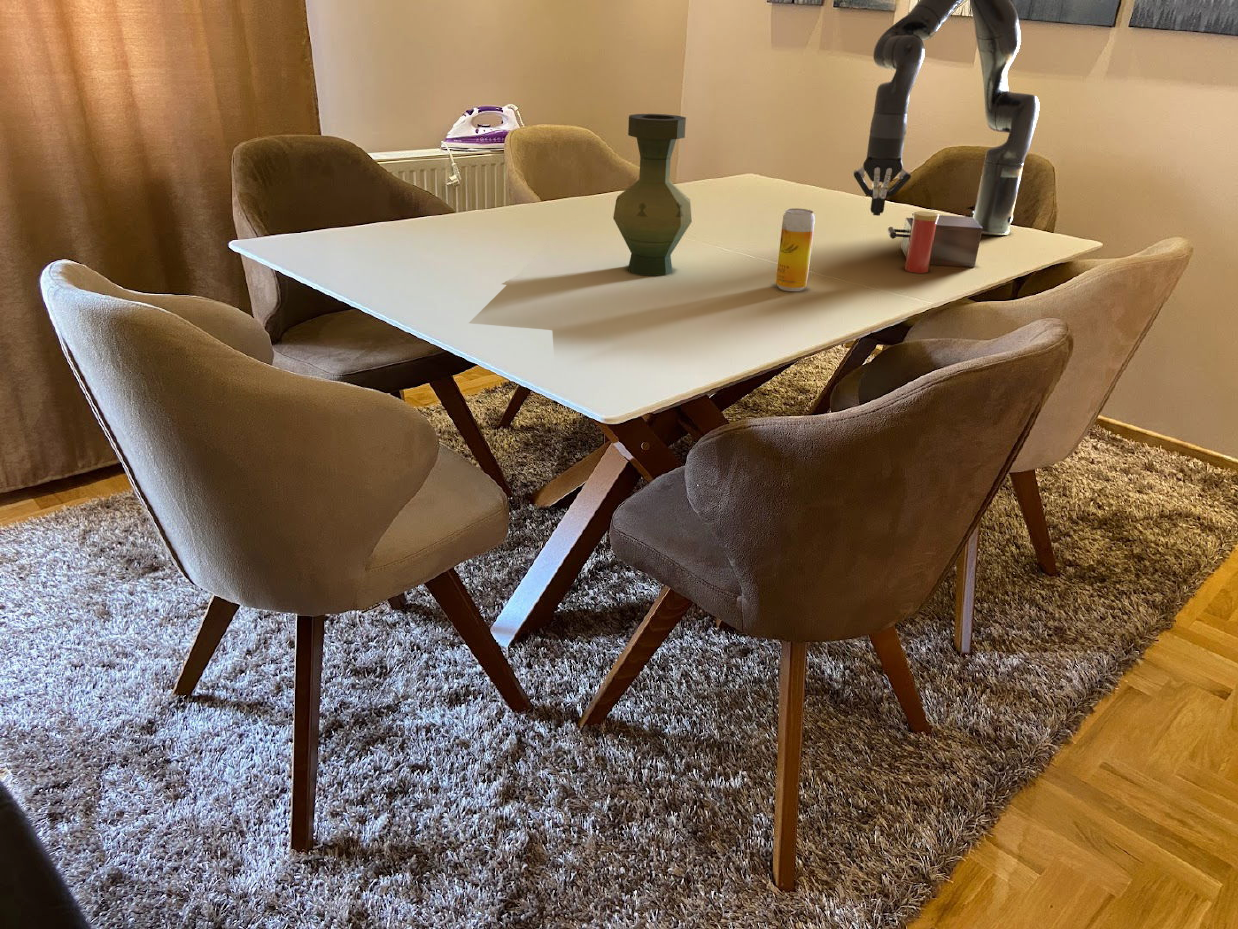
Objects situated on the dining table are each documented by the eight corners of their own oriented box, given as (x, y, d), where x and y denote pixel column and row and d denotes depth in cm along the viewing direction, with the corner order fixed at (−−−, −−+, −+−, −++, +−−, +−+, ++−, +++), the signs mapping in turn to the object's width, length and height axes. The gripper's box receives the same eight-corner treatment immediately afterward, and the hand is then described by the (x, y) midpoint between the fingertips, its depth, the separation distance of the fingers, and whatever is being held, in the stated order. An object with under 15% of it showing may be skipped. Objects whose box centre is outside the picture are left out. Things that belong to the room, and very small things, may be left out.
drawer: (888, 256, 206) (893, 225, 203) (883, 245, 215) (888, 216, 212) (964, 261, 204) (970, 230, 201) (956, 250, 213) (962, 221, 210)
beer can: (772, 283, 186) (780, 207, 179) (801, 283, 186) (811, 208, 180) (779, 291, 180) (788, 214, 174) (809, 292, 181) (819, 214, 174)
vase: (697, 265, 197) (708, 115, 183) (677, 283, 183) (687, 124, 170) (625, 256, 201) (630, 110, 188) (600, 274, 188) (603, 117, 174)
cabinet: (911, 262, 205) (918, 223, 201) (905, 250, 215) (911, 213, 211) (974, 267, 203) (982, 227, 199) (965, 254, 213) (972, 217, 210)
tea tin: (903, 266, 202) (912, 210, 196) (926, 267, 201) (936, 212, 196) (905, 272, 197) (915, 215, 192) (929, 273, 197) (940, 216, 191)
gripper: (916, 133, 204) (904, 212, 212) (855, 130, 205) (845, 209, 213) (920, 137, 197) (908, 219, 205) (857, 135, 199) (847, 216, 207)
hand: (876, 214), depth 209 cm, fingers closed
